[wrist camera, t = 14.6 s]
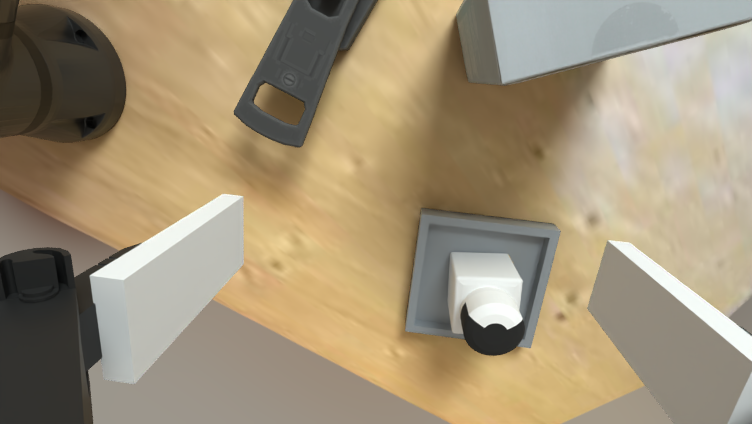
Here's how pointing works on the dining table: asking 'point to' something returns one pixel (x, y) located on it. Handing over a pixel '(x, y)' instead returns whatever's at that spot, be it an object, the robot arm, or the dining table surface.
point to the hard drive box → (578, 32)
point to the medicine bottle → (485, 301)
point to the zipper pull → (302, 62)
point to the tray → (477, 235)
